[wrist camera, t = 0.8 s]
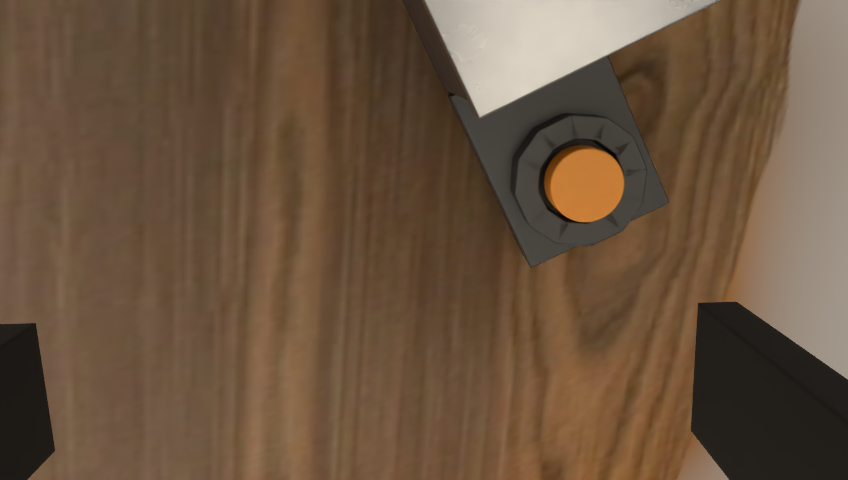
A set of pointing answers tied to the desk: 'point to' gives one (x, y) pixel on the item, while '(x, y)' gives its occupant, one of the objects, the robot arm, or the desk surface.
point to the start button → (584, 183)
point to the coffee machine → (530, 40)
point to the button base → (543, 139)
